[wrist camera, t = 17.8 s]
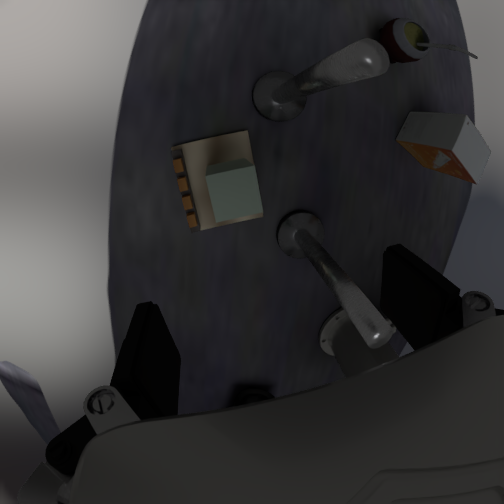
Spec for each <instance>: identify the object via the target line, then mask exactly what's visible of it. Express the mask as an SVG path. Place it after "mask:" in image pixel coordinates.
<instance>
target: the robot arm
mask: <svg viewBox="0 0 504 504" xmlns="http://www.w3.org/2000/svg"><path fill="white" fill-rule="evenodd" d="M459 294H460V289H459V288H458V287H457V286H455V285H454V284H453V283H452V282H450V281H449V280H448V279H447V278H445V277H444V276H443V275H442V274H440V273H439V272H438V271H436V270H435V269H434V268H432V267H431V266H430V265H428V264H427V263H426V262H424V261H423V260H422V259H420V258H419V257H418V256H416V255H415V254H414V253H412V252H411V251H409V250H408V249H407V248H405V247H404V246H402V245H401V244H396V245H392V246H389V247H387V248H386V251H384V253H383V271H382V287H381V300H380V306H381V309H382V311H383V312H384V314H385V315H386V316H387V317H388V318H387V319H385V320H386V321H387V322H388V324H389V325H390V324H391V325H390V326H391V327H392V329H393V333H395V332H396V328H397V329H398V330H399V332H400V333H401V334H402V335H403V337H404V338H405V339H406V340H407V342H408V343H409V344H410V345H411V347H412V348H413V349H414V350H415V351H413V352H411V353H409V354H406V355H404V356H402V357H399V356H398V355H397V353H396V352H395V351H394V349H393V348H392V346H391V345H390V344H389V342H387V343H386V344H384V345H383V346H381V347H379V348H375V349H373V348H370V347H369V346H368V345H367V343H366V342H365V340H364V339H363V337H362V336H361V334H360V333H359V331H358V330H357V328H356V327H355V325H354V324H353V322H352V321H351V319H350V318H349V316H348V315H347V313H346V312H345V311H344V309H343V308H340V309H339V310H337V311H335V312H334V313H333V314H332V315H330V316H329V318H328V319H327V320H326V321H325V322H324V324H323V325H322V327H321V329H320V332H319V344H320V346H321V348H322V349H323V351H324V352H326V353H327V354H329V355H333V356H335V357H336V359H337V361H338V363H339V365H340V367H341V369H342V371H343V373H344V375H345V377H346V378H343V379H340V380H337V381H334V382H331V383H328V384H324V385H321V386H318V387H314V388H311V389H307V390H304V391H300V392H296V393H292V394H288V395H284V396H280V397H276V398H272V399H268V400H263V401H259V402H254V403H249V404H244V405H239V406H233V407H228V408H222V409H216V410H210V411H203V412H197V413H189V414H182V415H177V414H178V395H179V379H180V365H181V358H180V354H179V351H178V349H177V347H176V345H175V343H174V341H173V338H172V336H171V334H170V332H169V330H168V327H167V325H166V323H165V320H164V318H163V316H162V314H161V311H160V309H159V307H158V305H157V304H153V303H152V302H151V301H150V302H145V303H140V304H137V306H136V309H135V312H134V314H133V317H132V320H131V323H130V326H129V329H128V332H127V335H126V338H125V339H124V341H123V344H122V347H121V350H120V353H119V356H118V359H117V362H116V366H115V369H114V372H113V376H112V379H111V383H110V386H101V387H98V388H96V389H94V390H93V391H91V392H90V393H89V394H88V396H87V397H86V398H85V401H84V406H83V408H84V412H85V414H86V415H84V416H83V417H82V418H80V419H79V420H78V421H76V422H75V423H74V424H72V425H71V426H70V427H68V428H67V429H66V430H64V431H63V432H62V433H60V434H59V435H58V436H56V437H55V438H53V439H52V440H51V441H50V442H49V444H48V446H47V448H46V459H47V461H46V463H43V462H41V463H40V464H39V465H38V467H37V468H36V469H35V471H34V472H33V473H32V475H31V476H30V477H29V478H28V480H27V481H26V483H25V484H24V485H23V486H22V488H21V489H20V490H19V492H18V496H17V501H18V504H504V310H501V309H495V308H494V303H493V301H492V299H491V298H490V297H489V296H488V295H486V294H484V293H482V292H478V291H470V292H467V293H465V294H464V295H463V297H460V296H459ZM392 323H393V324H392ZM393 333H392V334H393Z"/></svg>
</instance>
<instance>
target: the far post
mask: <svg viewBox="0 0 504 504" xmlns="http://www.w3.org/2000/svg"><path fill="white" fill-rule="evenodd" d="M276 238H277V242H278V244H279V246H280V247H281V249H282V251H283V252H284V253H285V254H286V255H288V256H290V257H292V258H306V257H307V258H308V259H309V261H310V262H311V264H312V265H313V266H314V268H315V269H316V271H317V272H318V273H319V275H320V276H321V278H322V279H323V280H324V282H325V283H326V285H327V286H328V287H329V289H330V290H331V292H332V293H333V295H334V296H335V297H336V299H337V300H338V302H339V303H340V305H341V306H342V308H343V309H344V311H345V312H346V313H347V315H348V316H349V318H350V319H351V321H352V322H353V324H354V325H355V327H356V328H357V330H358V331H359V333H360V334H361V336H362V337H363V339H364V340H365V342H366V343H367V345H368V346H369V347H370V348H373V349H375V348H379V347H381V346H383V345H384V344H386V343H387V342H388V341H389V339H390V338H391V336H392V333H393V329H392V327H391V326H390V325H389V324H388V322H387V321H386V320H385V319H384V318H383V316H382V315H381V314H380V313H379V311H378V310H377V309H376V308H375V307H374V305H373V304H372V303H371V302H370V301H369V299H368V298H367V297H366V296H365V295H364V293H363V292H362V291H361V290H360V289H359V288H358V286H357V285H356V284H355V283H354V282H353V281H352V279H351V278H350V277H349V276H348V275H347V274H346V273H345V271H344V270H343V269H342V268H341V267H340V266H339V265H338V263H337V262H336V261H335V260H334V259H333V258H332V257H331V256H330V254H329V253H328V252H327V251H326V250H325V249H324V248H323V247H322V246H321V245H322V243H323V240H324V227H323V225H322V223H321V221H320V220H319V219H318V218H317V217H316V216H315V215H313V214H312V213H310V212H308V211H304V210H298V211H293V212H291V213H289V214H287V215H286V216H285V217H284V218H283V219H282V220H281V221H280V223H279V225H278V227H277V231H276Z"/></svg>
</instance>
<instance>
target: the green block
mask: <svg viewBox="0 0 504 504" xmlns="http://www.w3.org/2000/svg"><path fill="white" fill-rule="evenodd" d="M205 177H206V182H207V186H208V190H209V195H210V199H211V203H212V207H213V212H214V216H215V220H216V223H217V222H221V221H226V220H230V219H235V218H239V217H244V216H248V215H253V214H258V213H262V212H263V208H262V203H261V197H260V192H259V186H258V181H257V175H256V170H255V165H253V164H252V163H251V162H249V161H248V160H247V159H245V158H241V159H237V160H232V161H227V162H222V163H218V164H213V165H209V166H207V168H206V175H205Z"/></svg>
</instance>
